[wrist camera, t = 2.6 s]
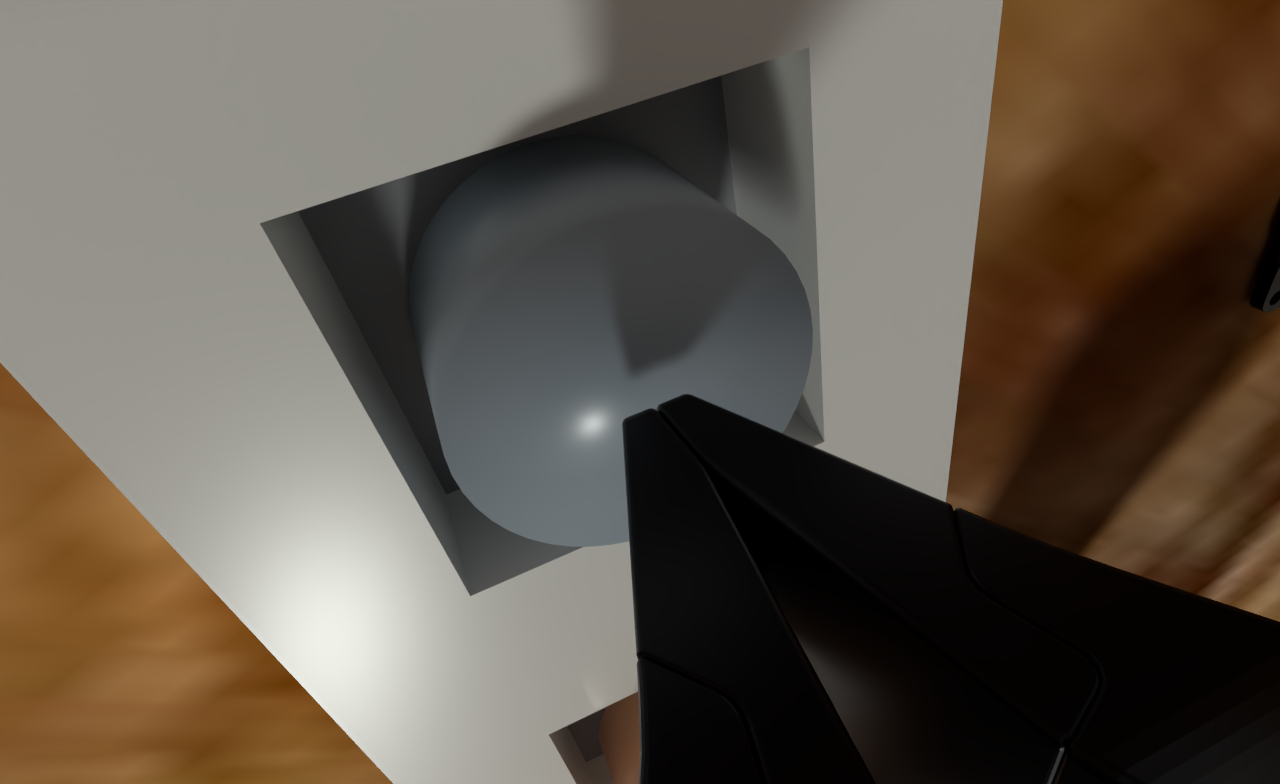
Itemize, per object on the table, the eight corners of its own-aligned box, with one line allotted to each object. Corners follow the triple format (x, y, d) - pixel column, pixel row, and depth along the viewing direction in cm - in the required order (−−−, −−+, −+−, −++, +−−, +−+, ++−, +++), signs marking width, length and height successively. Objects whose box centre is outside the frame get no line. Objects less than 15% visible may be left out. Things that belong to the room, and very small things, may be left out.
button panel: (820, -213, 10) (1033, -262, 7) (840, 626, 24) (919, 732, 21) (-65, 5, 8) (-280, 61, 5) (504, 792, 22) (537, 937, 19)
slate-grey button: (691, 91, 10) (804, 145, 8) (729, 365, 13) (819, 461, 11) (348, 201, 9) (363, 298, 7) (474, 468, 12) (513, 597, 10)
